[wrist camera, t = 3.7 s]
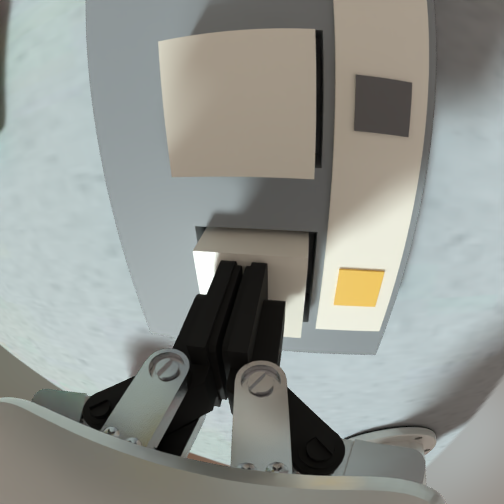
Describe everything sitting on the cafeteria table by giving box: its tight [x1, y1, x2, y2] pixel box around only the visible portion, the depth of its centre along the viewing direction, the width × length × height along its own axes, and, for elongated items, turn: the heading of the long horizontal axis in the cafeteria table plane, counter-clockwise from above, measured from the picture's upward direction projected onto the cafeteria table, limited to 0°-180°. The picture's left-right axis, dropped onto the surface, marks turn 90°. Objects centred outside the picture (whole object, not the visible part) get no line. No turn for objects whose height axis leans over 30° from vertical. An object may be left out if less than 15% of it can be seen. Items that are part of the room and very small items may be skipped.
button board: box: [86, 0, 436, 355], centre depth 10 cm, size 12×23×3 cm, turn 2°
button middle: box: [158, 28, 316, 179], centre depth 8 cm, size 4×4×3 cm
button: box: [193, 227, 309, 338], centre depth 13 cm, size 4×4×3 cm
